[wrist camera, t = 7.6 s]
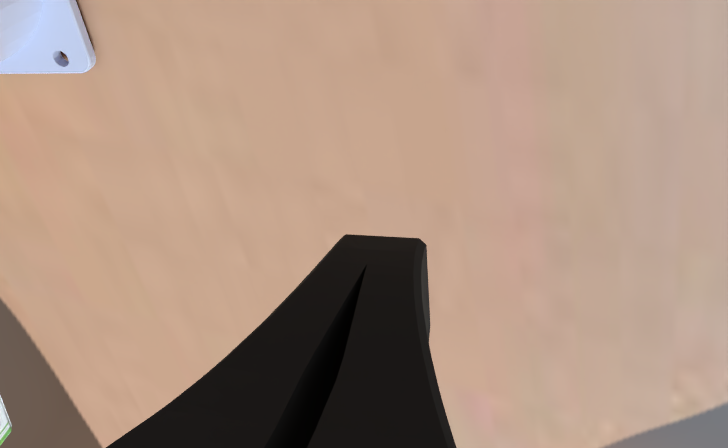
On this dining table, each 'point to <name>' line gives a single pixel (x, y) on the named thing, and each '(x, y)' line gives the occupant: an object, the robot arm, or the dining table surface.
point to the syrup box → (4, 422)
